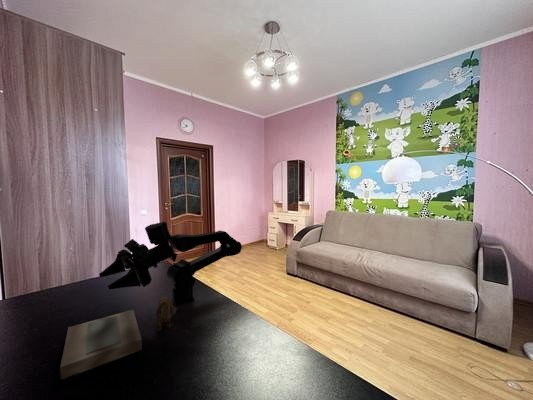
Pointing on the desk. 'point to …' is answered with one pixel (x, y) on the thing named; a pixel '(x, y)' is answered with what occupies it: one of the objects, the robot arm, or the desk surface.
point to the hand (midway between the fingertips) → (103, 281)
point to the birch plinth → (100, 342)
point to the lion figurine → (165, 312)
